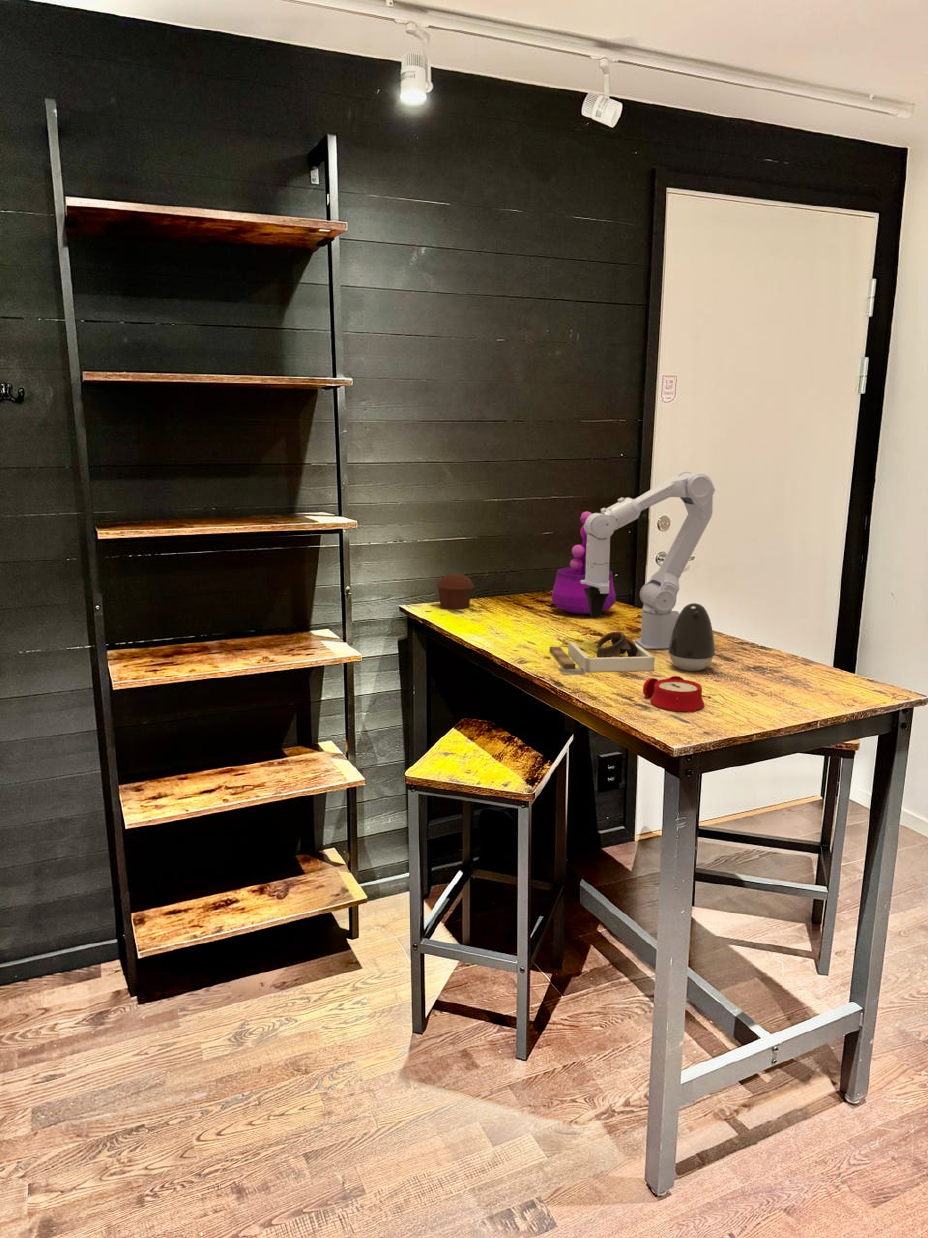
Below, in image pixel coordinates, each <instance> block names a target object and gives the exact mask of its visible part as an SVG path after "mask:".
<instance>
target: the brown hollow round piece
mask: <svg viewBox="0 0 928 1238" xmlns="http://www.w3.org/2000/svg"><path fill="white" fill-rule="evenodd" d="M609 641H610V642H611V643H612V645H610V646H606V647H605V646H604V647H603V645H605V644H606V643H608V642H609ZM634 642H635V640H633V639H632V638H630V637H629V636H627V635H625V633H624V632H623V631H620V630H618V631H611V632H609V633H606V634H605V635H603V636H602V637H601V638H599V640H598V641H597V645H596V647H595V648H596V649H597V651H596V658H608V657H621V655H624V654H627V657H639V653H638V649H637V647H636V645H635V643H636V642H635V643H634Z"/></svg>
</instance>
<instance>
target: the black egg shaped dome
mask: <svg viewBox="0 0 928 1238" xmlns="http://www.w3.org/2000/svg"><path fill="white" fill-rule="evenodd" d="M713 631H714V630H713V627H712V622H711V618H710V616H709V614H708V611H707V610H706V608H705V607H704V606H703V605H702V604H699V603H695V602H693V603H688V604H687V605H685V606H684V607H683V609H682V610H681V611H680V612H679V616H678V618H677V620H676V623H675V626H674V629H673V632H672V635H671V639H670V643H669V648H668V653H669V656H670V659H671V662H672V664H673V666H675V667H677V668H678V669H680V670H682V671H687V672H699V671H703V670H704V669H706V668H707V667H708V666H709V665H710V664H711V663H712V661H713V657H714V656H715V651H716V649H715V637H714V632H713Z"/></svg>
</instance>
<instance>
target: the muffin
mask: <svg viewBox="0 0 928 1238" xmlns="http://www.w3.org/2000/svg"><path fill="white" fill-rule="evenodd" d="M436 588H437V591H438V597H439V605H440V608H441V609H444V610H453V611H459V610H467V609H469V608H470V603H471V597H472V591H473V589H474V588H475V585H474V583H473V581H472V580H471V579H470V578H469V577H468V576H466V575H465V574H461V573H454V572H453V573H448V574H446V575H445V574H444V576H442V577H440V579H439V580H438V582H437V583H436Z"/></svg>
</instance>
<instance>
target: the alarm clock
mask: <svg viewBox="0 0 928 1238" xmlns="http://www.w3.org/2000/svg"><path fill="white" fill-rule="evenodd" d="M642 693H643V695H644V696H645V698H649V697H650V701H649V702H650V703H651V705H652V706H655V707H657V708H659V709H662V710H667V711H673V712H689V713H690V714H691V713H695V711H699V710H702V709H703V708H704V707H705V701H704V700H703V698H706V699H707V698H708V699H711V697H712V696H707V695H703V694H702V693H703V688H702V685H701V684H700V683H698V682H696V681H692V680H688V679H684V678H683V677H681V676H678V675H674V676H670V677H669V678H664V679H663V678H662V679H660V680H658V679H657V678H654V677H651V678H648V679H646V681H645V682H644V684H643V687H642Z"/></svg>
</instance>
